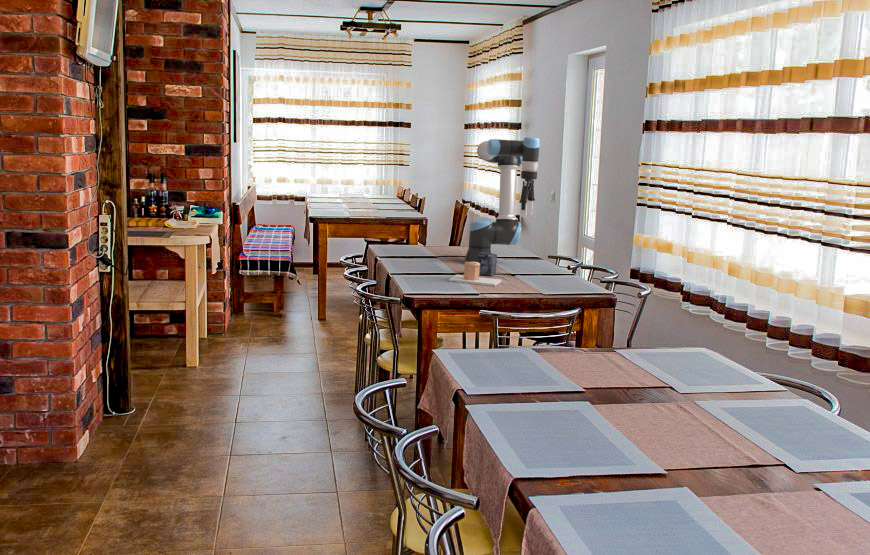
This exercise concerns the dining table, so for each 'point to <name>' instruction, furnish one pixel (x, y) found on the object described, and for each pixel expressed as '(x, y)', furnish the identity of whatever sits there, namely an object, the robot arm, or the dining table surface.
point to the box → (487, 263)
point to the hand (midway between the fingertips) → (526, 215)
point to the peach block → (471, 270)
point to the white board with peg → (480, 282)
